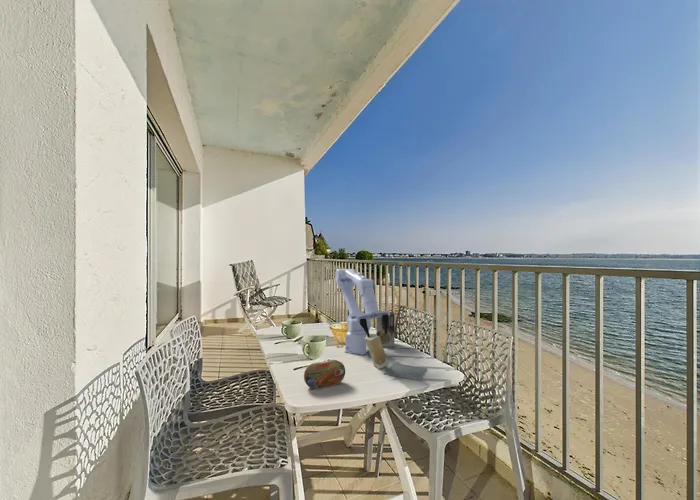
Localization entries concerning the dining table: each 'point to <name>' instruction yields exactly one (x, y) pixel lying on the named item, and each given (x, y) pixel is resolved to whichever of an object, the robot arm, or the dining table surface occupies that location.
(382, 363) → the skincare box
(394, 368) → the mat
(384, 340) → the coffee box
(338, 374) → the tin
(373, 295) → the robot arm
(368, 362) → the dining table surface
